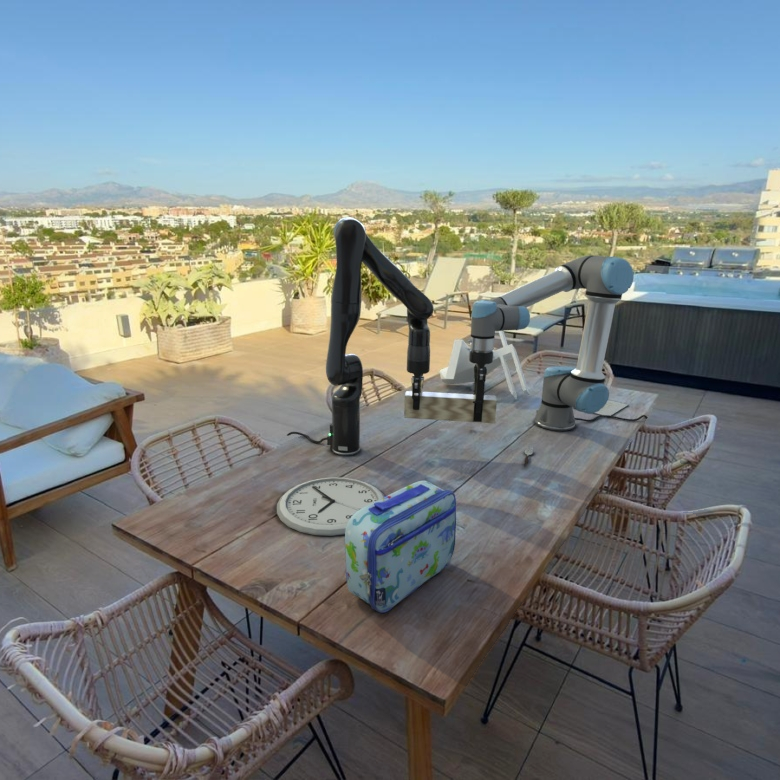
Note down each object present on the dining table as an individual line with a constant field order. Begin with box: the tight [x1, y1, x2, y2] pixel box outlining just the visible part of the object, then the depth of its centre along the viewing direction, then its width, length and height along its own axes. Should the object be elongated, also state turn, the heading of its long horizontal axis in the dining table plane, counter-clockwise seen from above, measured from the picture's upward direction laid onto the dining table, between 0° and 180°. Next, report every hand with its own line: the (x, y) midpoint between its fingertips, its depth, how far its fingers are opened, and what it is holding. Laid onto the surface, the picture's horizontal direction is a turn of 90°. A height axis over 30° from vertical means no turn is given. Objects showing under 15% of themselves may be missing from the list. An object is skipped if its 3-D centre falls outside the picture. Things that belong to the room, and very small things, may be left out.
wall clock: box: [276, 476, 386, 537], centre depth 142 cm, size 30×2×30 cm
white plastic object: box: [438, 331, 531, 400], centre depth 245 cm, size 37×45×31 cm
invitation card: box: [594, 399, 629, 416], centre depth 226 cm, size 21×1×15 cm
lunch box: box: [344, 480, 457, 614], centre depth 109 cm, size 26×11×21 cm, turn 135°
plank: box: [403, 390, 498, 424], centre depth 174 cm, size 30×5×8 cm, turn 83°
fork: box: [523, 444, 534, 468], centre depth 173 cm, size 3×16×2 cm, turn 160°
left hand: (416, 406), depth 176 cm, fingers closed on plank, 5 cm apart
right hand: (476, 418), depth 174 cm, fingers closed on plank, 5 cm apart
